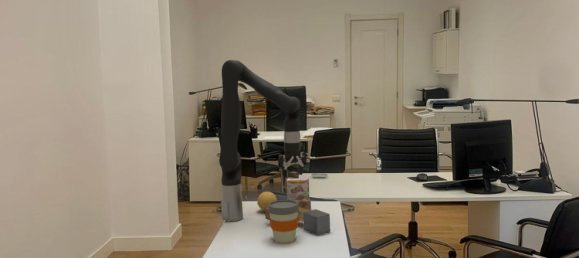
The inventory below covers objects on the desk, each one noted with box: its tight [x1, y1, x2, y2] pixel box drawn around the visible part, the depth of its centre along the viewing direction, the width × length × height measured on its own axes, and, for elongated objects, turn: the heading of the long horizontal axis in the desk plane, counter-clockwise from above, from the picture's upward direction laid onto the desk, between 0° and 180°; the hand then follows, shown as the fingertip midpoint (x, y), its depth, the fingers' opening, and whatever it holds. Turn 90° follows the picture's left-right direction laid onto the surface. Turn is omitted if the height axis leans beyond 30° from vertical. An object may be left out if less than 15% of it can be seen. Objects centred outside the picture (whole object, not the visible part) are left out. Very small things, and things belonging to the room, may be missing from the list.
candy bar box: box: [285, 177, 310, 201], centre depth 230 cm, size 11×5×16 cm, turn 84°
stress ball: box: [256, 191, 278, 212], centre depth 233 cm, size 10×10×10 cm
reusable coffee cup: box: [268, 199, 299, 244], centre depth 193 cm, size 13×13×15 cm
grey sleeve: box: [303, 208, 331, 237], centre depth 201 cm, size 7×10×8 cm
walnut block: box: [264, 199, 312, 221], centre depth 218 cm, size 23×4×8 cm, turn 125°
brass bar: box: [298, 207, 310, 223], centre depth 211 cm, size 4×21×4 cm, turn 35°
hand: (292, 175), depth 214 cm, fingers open, 8 cm apart
